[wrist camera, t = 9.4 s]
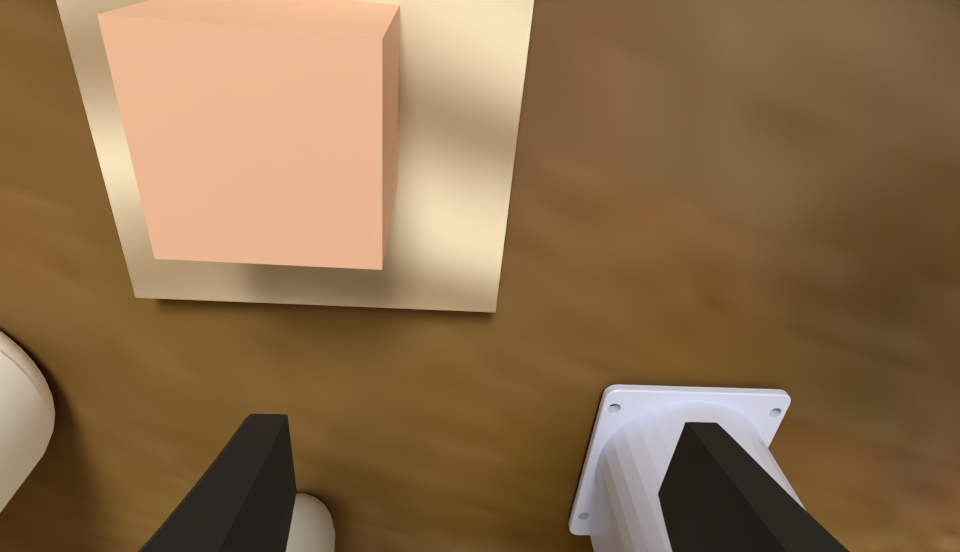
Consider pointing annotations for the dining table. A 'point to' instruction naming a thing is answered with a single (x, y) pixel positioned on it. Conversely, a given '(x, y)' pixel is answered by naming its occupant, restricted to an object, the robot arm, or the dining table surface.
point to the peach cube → (261, 126)
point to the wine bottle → (21, 417)
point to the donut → (310, 526)
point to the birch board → (420, 168)
